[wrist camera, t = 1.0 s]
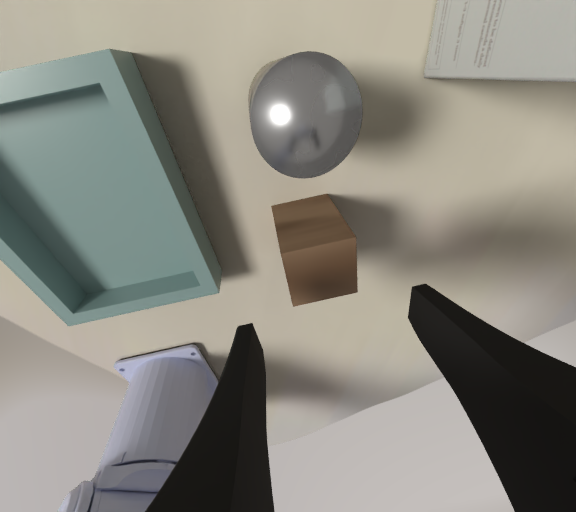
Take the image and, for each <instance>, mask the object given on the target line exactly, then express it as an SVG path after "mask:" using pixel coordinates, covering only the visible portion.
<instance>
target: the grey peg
mask: <svg viewBox="0 0 576 512" xmlns="http://www.w3.org/2000/svg"><path fill="white" fill-rule="evenodd" d="M248 102H249V113H250V122H251V130H252V135H253V138H254V142H255V144H256V146H257V149H258V151H259V152H260V154H261V156H262V157H263V158H264V159H265V161H266V162H267V163H268V164H269V165H270V166H271V167H273V168H274V169H275V170H277V171H278V172H280V173H282V174H284V175H287V176H290V177H294V178H312V177H316V176H320V175H322V174H325V173H327V172H329V171H330V170H332V169H334V168H335V167H336V166H338V165H339V164H340V163H341V162H342V161H343V160H344V159H345V158H346V156H347V155H348V154H349V152H350V151H351V149H352V148H353V146H354V144H355V142H356V140H357V137H358V135H359V131H360V128H361V122H362V100H361V95H360V91H359V88H358V86H357V83H356V81H355V79H354V78H353V76H352V74H351V73H350V72H349V70H348V69H347V68H346V67H345V66H344V65H343V64H342V63H341V62H339V61H338V60H336V59H335V58H333V57H331V56H329V55H326V54H324V53H319V52H309V51H307V52H300V53H296V54H293V55H290V56H287V57H284V58H281V59H278V60H275V61H272V62H270V63H268V64H267V65H265V66H264V67H263V68H261V69H260V70H259V72H258V73H257V74H256V76H255V77H254V79H253V81H252V83H251V86H250V90H249V98H248Z"/></svg>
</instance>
